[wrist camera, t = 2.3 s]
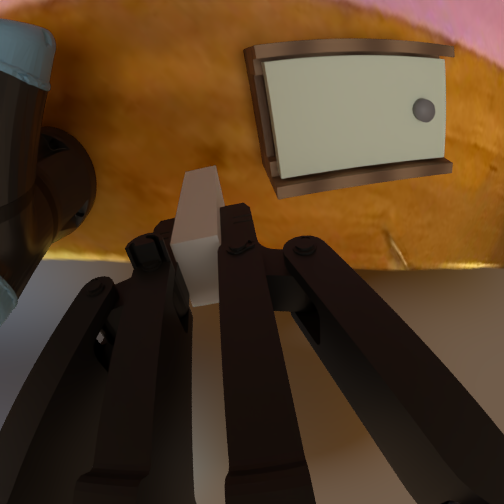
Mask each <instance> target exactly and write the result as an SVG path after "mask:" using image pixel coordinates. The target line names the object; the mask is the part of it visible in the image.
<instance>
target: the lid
mask: <svg viewBox="0 0 504 504" xmlns="http://www.w3.org/2000/svg"><path fill="white" fill-rule="evenodd" d="M261 64H262V70H263V76H264V82H265V88H266V94H267V100H268V107H269V113H270V120H271V126H272V133H273V140H274V146H275V153H276V160H277V168H278V173H279V175H280V177H281V179H284V178H290V177H295V176H301V175H307V174H314V173H320V172H326V171H333V170H340V169H347V168H354V167H361V166H369V165H376V164H384V163H393V162H401V161H410V160H420V159H430V158H441V157H444V148H445V126H446V80H445V60H444V59H437V58H428V57H415V56H397V55H335V56H316V57H303V58H292V59H283V60H274V61H266V62H261Z"/></svg>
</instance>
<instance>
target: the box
mask: <svg viewBox="0 0 504 504" xmlns="http://www.w3.org/2000/svg"><path fill="white" fill-rule="evenodd" d="M243 51H244V56H245V62H246V67H247V73H248V78H249V84H250V90H251V96H252V101H253V107H254V113H255V119H256V125H257V131H258V137H259V143H260V149H261V156H262V162H263V166H264V168H265V170H266V172H267V175H268V177H269V179H270V182H271V184H272V186H273V189H274V191H275V193H276V195H277V198H278V199H283V198H289V197H294V196H300V195H305V194H311V193H317V192H323V191H329V190H335V189H341V188H347V187H354V186H360V185H367V184H373V183H380V182H387V181H394V180H401V179H408V178H416V177H423V176H431V175H439V174H447V173H452V166H453V163H452V162H450V161H449V160H447V159H446V158H444V157H441V158H430V159H420V160H410V161H401V162H393V163H384V164H376V165H369V166H361V167H354V168H347V169H340V170H333V171H326V172H320V173H314V174H307V175H301V176H295V177H290V178H284V179H281V177H280V175H279V173H278V168H277V160H276V153H275V146H274V140H273V133H272V126H271V120H270V113H269V107H268V100H267V94H266V88H265V82H264V76H263V70H262V64H261V62H266V61H274V60H283V59H292V58H303V57H316V56H335V55H397V56H415V57H428V58H437V59H439V56H448V57H454V46H448V45H441V44H433V43H425V42H415V41H403V40H387V39H317V40H301V41H289V42H279V43H270V44H261V45H254V46H251V47H249V48H246V49H244V50H243Z"/></svg>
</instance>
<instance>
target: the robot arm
mask: <svg viewBox="0 0 504 504" xmlns="http://www.w3.org/2000/svg"><path fill="white" fill-rule="evenodd" d="M55 51H56V42H55V39H54V37H53V35H52V34H51V33H50V32H49V31H48V30H47V29H45V28H42V27H39V26H35V25H32V24H27V23H23V22H18V21H12V20H7V19H0V326H1V325H2V324H3V323H4V322H5V320H6V319H7V317H8V316H9V315H10V313H11V312H12V310H13V309H14V308H15V307H16V305H17V302H18V299H19V297H20V295H21V293H22V292H23V290H24V288H25V286H26V285H27V283H28V281H29V279H30V278H31V276H32V274H33V272H34V271H35V269H36V268H37V266H38V264H39V263H40V261H41V260H42V258H43V256H44V255H45V253H46V252H47V250H48V249H49V247H50V245H51V244H52V243H54V242H56V241H58V240H59V239H61V238H63V237H65V236H67V235H68V234H70V233H72V232H73V231H74V230H76V229H77V228H78V227H79V226H80V225H81V223H82V222H83V221H84V219H85V218H86V216H87V215H88V213H89V212H90V210H91V208H92V205H93V203H94V199H95V194H96V177H95V172H94V168H93V165H92V162H91V160H90V158H89V156H88V154H87V152H86V151H85V149H84V148H83V146H82V145H81V144H80V143H79V142H78V141H77V140H76V139H75V138H74V137H72V136H71V135H70V134H68V133H66V132H65V131H62V130H60V129H57V128H53V127H41V124H42V118H43V112H44V107H45V102H46V97H47V92H48V91H50V87H51V85H50V83H49V82H50V76H51V70H52V65H53V60H54V55H55ZM125 250H126V252H127V254H128V257H129V259H130V261H131V263H132V266H133V268H134V270H133V273H132V277H131V278H129V279H127V280H125V281H122V282H120V283H118V284H114V282H113V281H112V279H111V278H110V277H105V276H104V277H97V278H95V279H92V280H91V281H90V282H88V283H87V284H86V285H85V286H84V287H83V288H82V289H81V291H80V292H79V293H78V295H77V297H76V298H75V299H74V301H73V302H72V304H71V305H70V307H69V309H68V310H67V312H66V313H65V315H64V316H63V318H62V320H61V321H60V323H59V324H58V326H57V327H56V329H55V331H54V332H53V334H52V335H51V337H50V339H49V340H48V342H47V344H46V345H45V347H44V349H43V350H42V352H41V354H40V356H39V357H38V359H37V361H36V363H35V364H34V366H33V368H32V370H31V371H30V373H29V375H28V377H27V379H26V381H25V382H24V384H23V386H22V388H21V390H20V392H19V394H18V396H17V398H16V400H15V402H14V404H13V406H12V408H11V410H10V412H9V414H8V416H7V418H6V420H5V422H4V424H3V426H2V428H1V431H0V504H196V501H195V497H194V480H193V453H192V328H193V316H192V312H191V310H190V307H189V297H190V300H191V302H192V305H193V307H196V306H202V305H207V304H213V303H219V310H220V332H221V351H222V370H223V386H224V401H225V417H226V430H227V443H228V456H229V472H228V474H227V476H226V479H225V502H226V504H316V502H315V497H314V492H313V487H312V483H311V478H310V474H309V470H308V465H307V462H306V459H305V455H304V450H303V446H302V441H301V437H300V431H299V427H298V422H297V417H296V412H295V408H294V403H293V398H292V394H291V389H290V384H289V380H288V375H287V370H286V366H285V361H284V357H283V352H282V347H281V343H280V338H279V334H278V329H277V324H276V320H275V315H274V311H289V312H291V315H292V317H293V319H294V320H295V322H296V323H297V325H298V326H299V328H300V329H301V331H302V332H303V334H304V335H305V337H306V338H307V340H308V341H309V343H310V344H311V346H312V347H313V349H314V350H315V352H316V353H317V355H318V357H319V358H320V360H321V361H322V363H323V364H324V366H325V367H326V369H327V370H328V372H329V373H330V375H331V376H332V378H333V379H334V381H335V382H336V384H337V385H338V387H339V388H340V390H341V391H342V393H343V394H344V396H345V397H346V399H347V400H348V402H349V403H350V405H351V406H352V408H353V409H354V411H355V412H356V414H357V415H358V417H359V418H360V420H361V422H362V423H363V425H364V426H365V428H366V429H367V431H368V432H369V434H370V435H371V437H372V438H373V439H374V441H375V443H376V444H377V446H378V447H379V449H380V450H381V452H382V453H383V455H384V456H385V458H386V459H387V461H388V462H389V464H390V465H391V467H392V468H393V470H394V471H395V473H396V474H397V476H398V477H399V479H400V480H401V482H402V483H403V485H404V486H405V488H406V489H407V491H408V492H409V493H410V495H411V496H412V497H413V499H414V500H415V501H416V502H417V504H504V434H503V433H502V432H501V431H500V429H499V428H498V427H497V426H496V425H495V423H494V422H493V421H492V420H491V418H490V417H489V416H488V415H487V414H486V412H485V411H484V410H483V409H482V408H481V407H480V405H479V404H478V403H477V402H476V400H475V399H474V398H473V397H472V396H471V395H470V394H469V392H468V391H467V390H466V389H465V388H464V387H463V385H462V384H461V383H460V382H459V381H458V380H457V378H456V377H455V376H454V375H453V374H452V373H451V372H450V371H449V369H448V368H447V367H446V366H445V365H444V364H443V363H442V362H441V360H440V359H439V358H438V357H437V356H436V355H435V354H434V353H433V352H432V351H431V350H430V348H429V347H428V346H427V345H426V344H425V343H424V342H423V341H422V340H421V339H420V338H419V337H418V335H416V333H415V332H414V331H413V330H412V329H411V328H410V327H409V326H408V325H407V324H406V323H405V322H404V321H403V320H402V319H401V318H400V316H398V315H397V313H396V312H395V311H394V310H393V309H392V308H391V307H390V306H389V305H388V304H387V303H386V302H385V301H384V300H383V299H382V298H381V297H380V296H379V295H378V294H377V293H376V292H375V291H374V290H373V289H372V288H371V287H370V286H369V285H368V284H367V283H366V282H365V281H364V280H363V279H362V278H361V277H360V276H359V275H358V274H357V273H356V272H355V271H354V270H353V269H352V268H351V267H350V266H349V265H348V264H347V263H346V262H345V261H344V260H343V259H342V258H341V257H340V256H339V255H338V254H337V253H336V252H335V251H334V250H333V249H332V248H331V247H330V246H328V245H327V244H326V243H325V242H324V241H323V240H321V239H320V238H318V237H314V236H299V237H295V238H293V239H291V240H289V241H288V242H287V243H286V244H285V245H284V247H283V249H270V248H266V247H264V246H262V245H261V244H260V243H259V242H258V240H257V237H256V233H255V228H254V224H253V220H252V215H251V211H250V207H249V206H247V205H246V204H245V203H239V204H234V205H229V206H225V204H224V200H223V196H222V191H221V187H220V182H219V178H218V173H217V169H216V165H215V166H210V167H206V168H201V169H197V170H192V171H188V172H185V176H184V181H183V185H182V190H181V194H180V199H179V203H178V208H177V213H176V217H175V218H172V219H168V220H163V221H160V223H159V224H158V225H157V226H156V227H155V228H154V231H153V233H147V234H144V235H141V236H138V237H137V238H135V239H133V240H132V241H131V242H129V243H128V244H127V246H126V248H125ZM99 332H101V334H102V335H103V336H104V339H103V341H102V342H101V343H99V342H98V340H97V339H96V338H97V336H98V334H99Z"/></svg>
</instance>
